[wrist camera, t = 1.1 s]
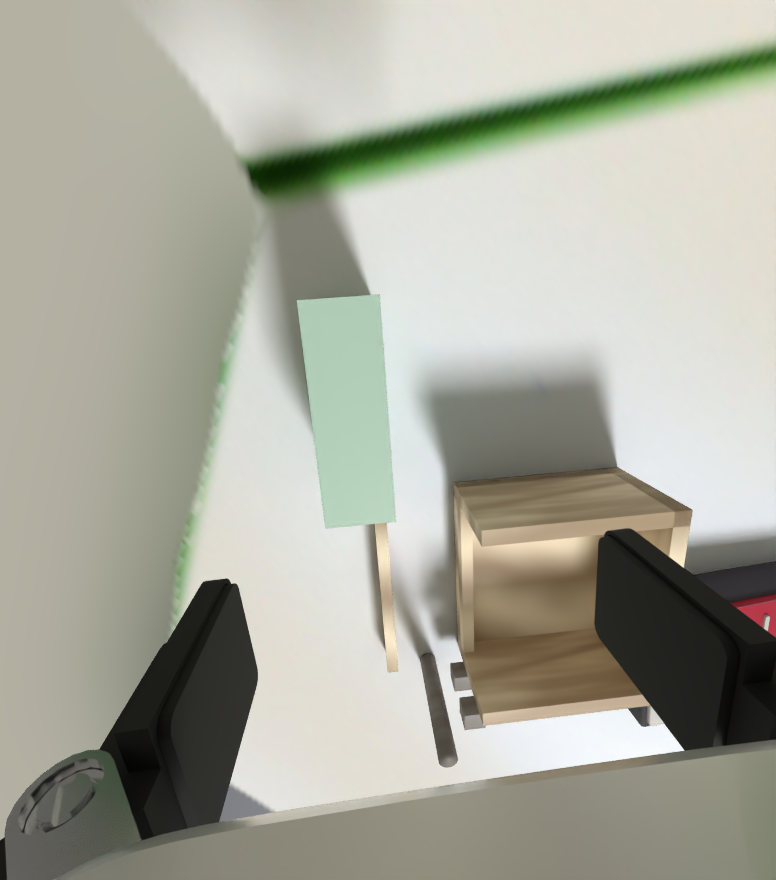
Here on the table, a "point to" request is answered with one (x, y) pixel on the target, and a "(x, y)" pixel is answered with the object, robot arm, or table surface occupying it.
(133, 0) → the table surface
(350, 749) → the table surface
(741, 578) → the calculator
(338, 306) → the green block
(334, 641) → the table surface
